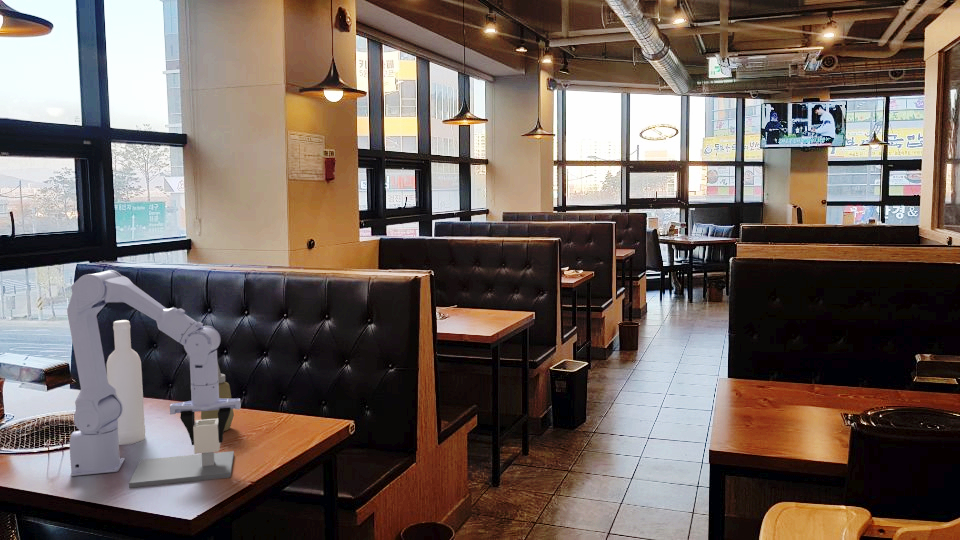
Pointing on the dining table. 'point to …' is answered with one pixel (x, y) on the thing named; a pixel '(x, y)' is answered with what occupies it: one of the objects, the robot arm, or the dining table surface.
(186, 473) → the base plate
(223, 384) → the squeeze bottle
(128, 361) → the bottle
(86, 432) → the robot arm
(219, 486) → the dining table surface
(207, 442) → the sleeve
